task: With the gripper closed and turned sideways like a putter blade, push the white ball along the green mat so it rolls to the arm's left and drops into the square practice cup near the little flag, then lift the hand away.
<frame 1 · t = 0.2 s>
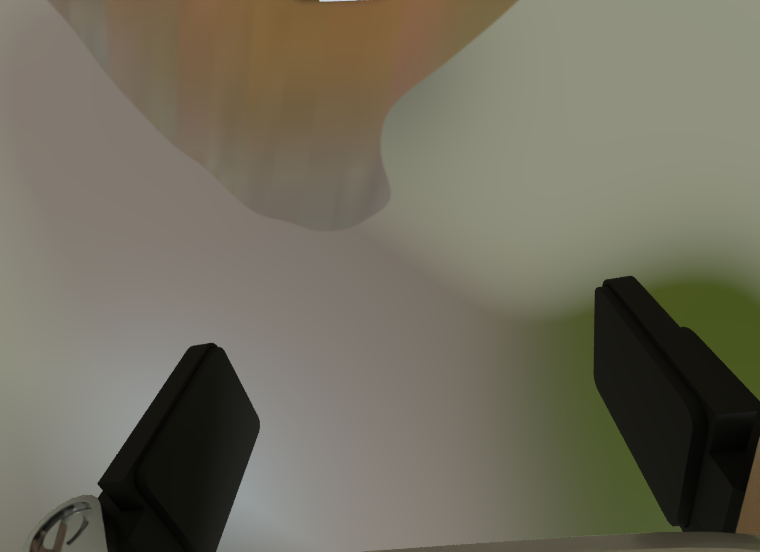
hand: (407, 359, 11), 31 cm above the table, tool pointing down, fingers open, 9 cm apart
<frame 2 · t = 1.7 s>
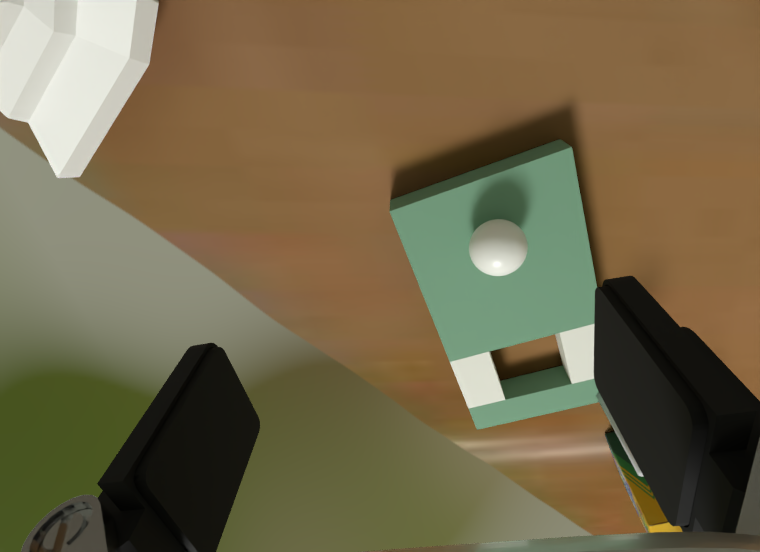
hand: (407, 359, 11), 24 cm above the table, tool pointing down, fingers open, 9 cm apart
ball: (497, 247, 31), point 4 cm above the table, touching green
crayon box: (623, 449, 47), on the table
green: (509, 298, 38), on the table
soft serve ice cream: (86, 15, 29), on the table
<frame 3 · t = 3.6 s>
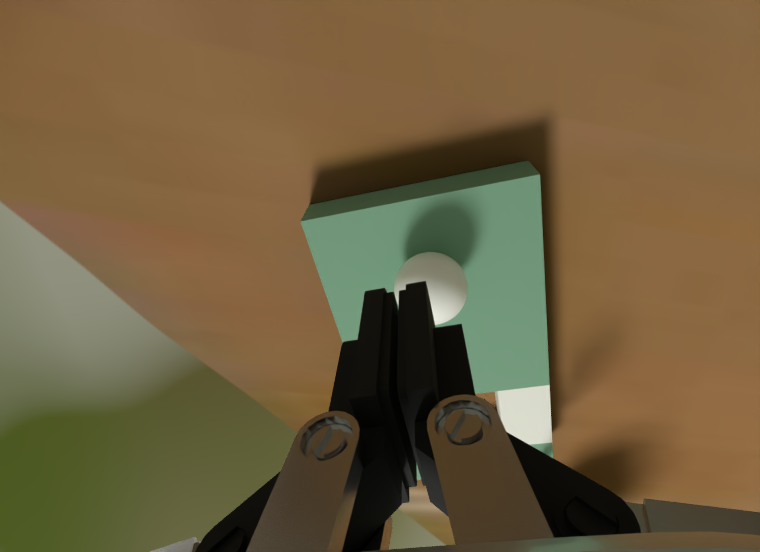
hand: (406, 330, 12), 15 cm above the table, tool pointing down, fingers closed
ball: (430, 288, 24), point 4 cm above the table, touching green
green: (445, 341, 31), on the table
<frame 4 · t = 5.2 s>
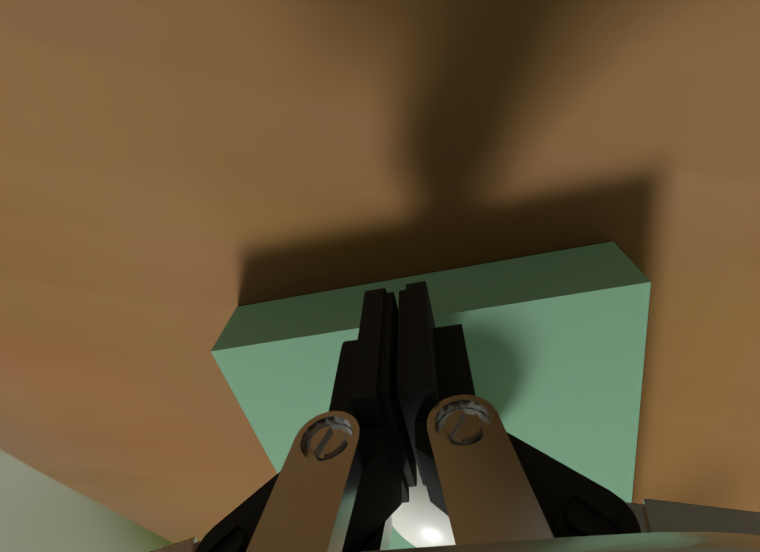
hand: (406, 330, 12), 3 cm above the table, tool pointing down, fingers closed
ball: (442, 476, 13), point 4 cm above the table, touching green
green: (460, 489, 21), on the table
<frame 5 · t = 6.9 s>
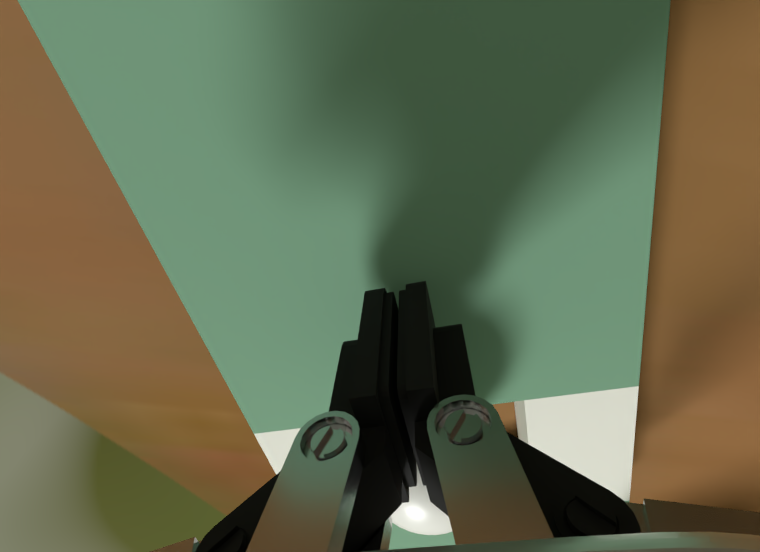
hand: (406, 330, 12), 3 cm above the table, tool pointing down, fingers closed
ball: (427, 455, 13), point 4 cm above the table, tilted 73°, touching green
green: (414, 297, 15), on the table
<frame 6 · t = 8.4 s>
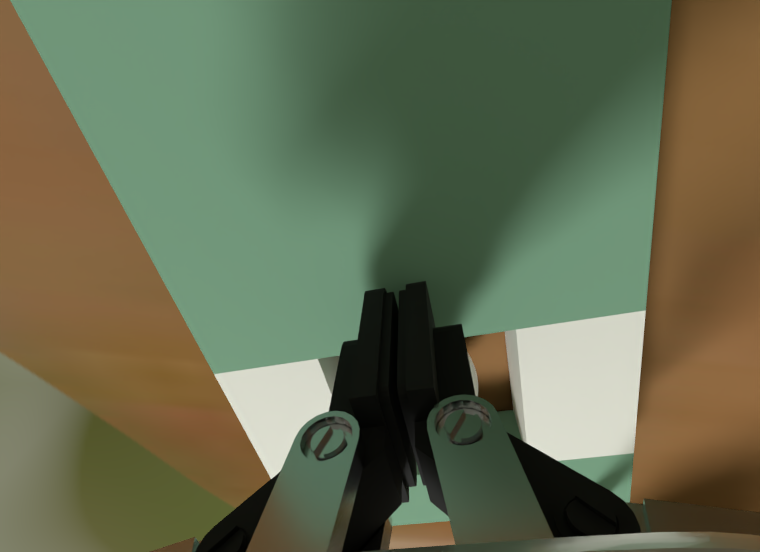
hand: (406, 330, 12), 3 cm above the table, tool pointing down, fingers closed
green: (394, 220, 14), on the table
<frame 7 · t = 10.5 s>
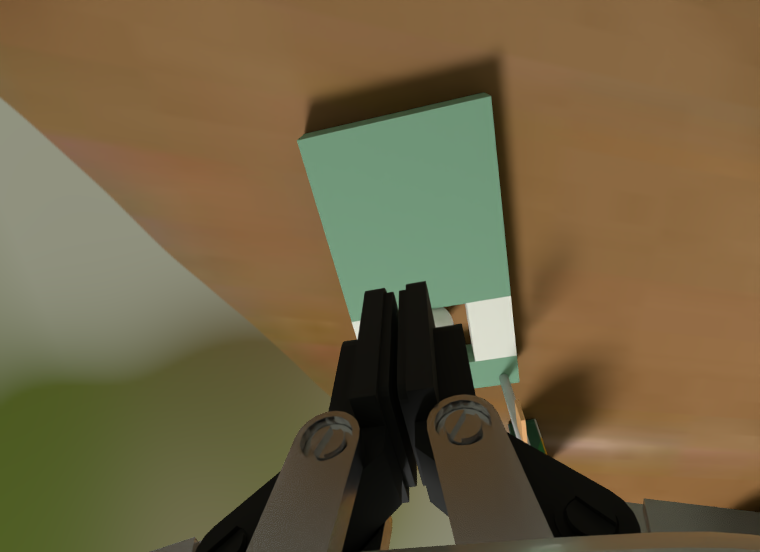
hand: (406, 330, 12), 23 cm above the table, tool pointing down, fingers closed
ball: (429, 326, 37), point 2 cm above the table, tilted 26°
crayon box: (525, 442, 46), on the table
green: (421, 263, 36), on the table
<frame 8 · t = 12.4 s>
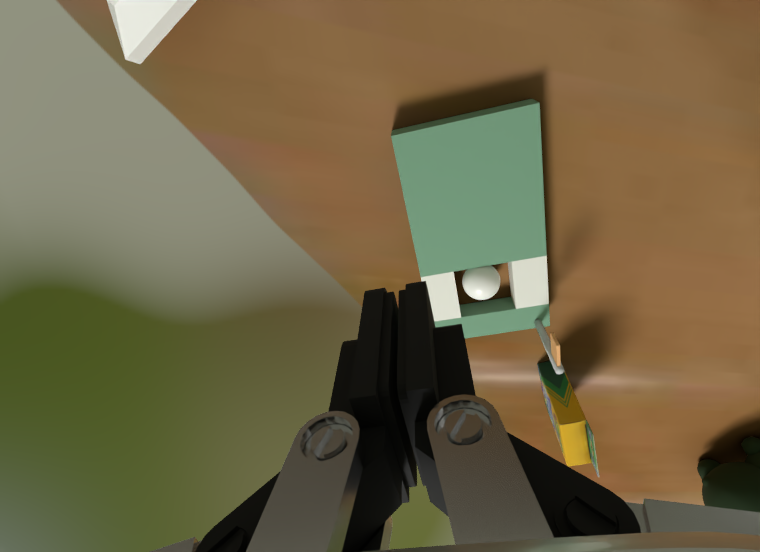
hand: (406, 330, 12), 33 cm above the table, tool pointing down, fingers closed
ball: (481, 281, 47), point 2 cm above the table, tilted 27°
toy figurine: (754, 443, 60), on the table
crayon box: (550, 380, 56), on the table
green: (475, 231, 46), on the table
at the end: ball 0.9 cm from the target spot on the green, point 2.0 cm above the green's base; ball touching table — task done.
